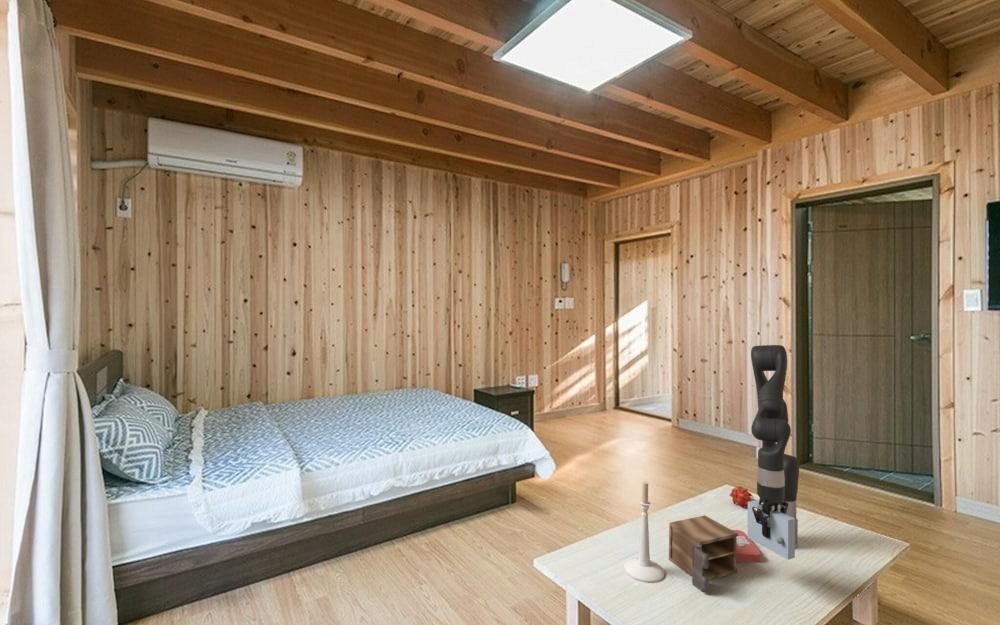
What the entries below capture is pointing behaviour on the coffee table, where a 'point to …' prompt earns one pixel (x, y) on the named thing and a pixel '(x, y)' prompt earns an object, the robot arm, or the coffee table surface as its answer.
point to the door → (774, 532)
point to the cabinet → (702, 549)
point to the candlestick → (644, 550)
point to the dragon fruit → (741, 496)
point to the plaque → (746, 549)
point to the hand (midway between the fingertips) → (770, 535)
